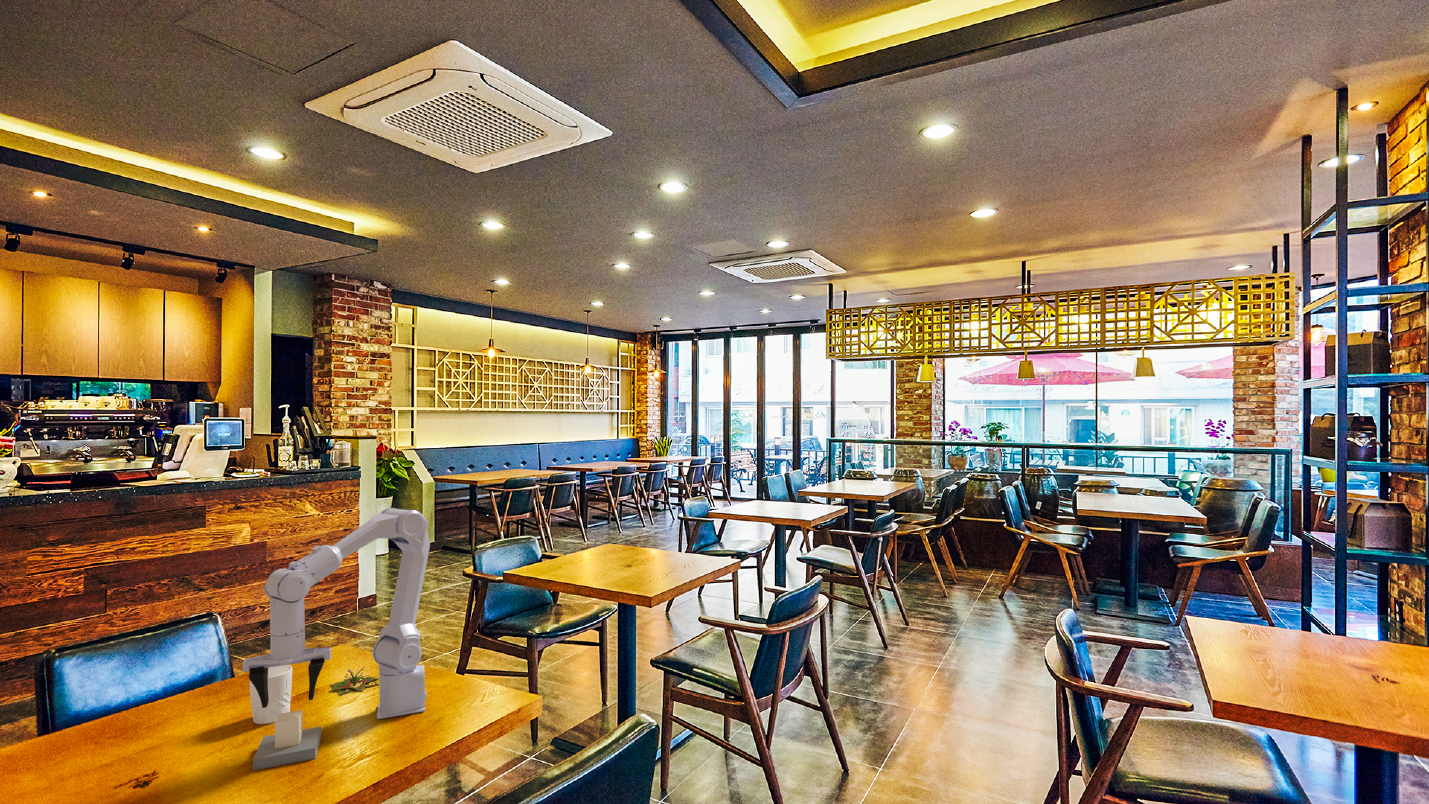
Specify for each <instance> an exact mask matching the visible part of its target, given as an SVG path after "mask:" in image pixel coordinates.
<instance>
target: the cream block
mask: <svg viewBox="0 0 1429 804" xmlns="http://www.w3.org/2000/svg"><path fill="white" fill-rule="evenodd" d="M302 730H303V710H302V709H299V710H293V711H290V712H287V713H281V714H278V716H277V718H276V721H275V722H274V735H275V748H281V747H286V746H292V745H297V744H300V741H301V738H302Z"/></svg>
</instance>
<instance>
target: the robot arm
mask: <svg viewBox="0 0 1429 804" xmlns="http://www.w3.org/2000/svg"><path fill="white" fill-rule="evenodd" d="M428 524H429V521H428V519H427V518H425V516H424V515H423V514H422V513H421V512H420V511H418V510H416V509H400V508H397V507H396V508H395V507H388V508H385V509H383V510H382V511H380V512H378V513H376V514H373V516H371V517H370V519H369V520H368V521H366V522H364V523H363V524H362V525H360V526H359V527H357V528H356V529H354V530H353V531H352V532H350V533H349V534H347V535H346V536H345V537H343V538H342V539H340V540H339V541H338V542H336V543H335V544H333V545H330V544H329V545H327V544H324V545H323V544H322V545H321V546H320V545H315V546H314V547H313V548H311V552H310V553H308V554H307V555H305V556H303V557H302V558H300V559H298V560H296V561H292V562H290V563H289V564H288V567H287V568H285V567H284V568H279V569H277V570H275V571H273V572H272V573H271V574H270V575H269V577H268V578H267V579H266V583H265V584H264V585H263V591H264V593H265V595H266V596H267V597H268V598H269V626H270V627H269V628H270V629H269V633H270V637H269V639H270V641H269V642H270V644H269V645H270V653H267V654H264V655H259V656H253V657H249V658H244V660H242V673H246V672H248V679H250V680H249V682H250V681H251V682H252V683H253V685H254V687H255V688H256V690H257V692H258V694H259V697H260V700H261V704H262V708H265V707H267V705H268V701H269V696H268V667H275V666H282V665H289V666H290V665H295V664H301V663H308V667H307V669H308V670H307V671H308V701H313V700H314V697H315V692H316V690H315V689H316V685H317V681H318V678H319V676H320V673H321V672H322V669H323V666H324V664H325V661H329V660H331V659H332V647H331V646H330V647H316V648H315V647H314V648H306V630H305V629H306V624H305V623H306V622H305V620H306V618H305V616H306V615H305V613H306V612H305V610H306V609H305V606H306V605H305V597H307V595H308V594H309V592H310V589H311V588H312V587H313V586H314V585H316V584H318V583H319V582H320V581H323V579H325V578H326V577H328V576H329V575H331V574H332V573H335V572H336V571H337V570H338V569H340V568H341V566H342V562H343V559H345V558H347V557H348V556H350V555H352V554H353V553H355V552H357V551H358V550H360V549H362V548H364V547H365V546H368V545H369V544H371V543H373V542H374V541H377V540H378V539H379V540H380V539H389V540H390V541H393V542H394V543H395V544H396V546H397V547H398V548H399V549H400V550H401V552H402V554H401V558H400V563H399V568H398V569H399V570H398V574H397V579H396V584H395V589H394V594H393V599H392V604H391V609H390V615H389V620H388V623H387V624H386V625H385V626H384V627H383V628H382V629H381V630H380V634H379V637H378V639H377V641H376V642H375V643H374V646H373V649H372V659H373V661H375V663H377V664H378V669H379V670H378V677H379V679H378V680H379V681H378V684H379V685H378V686H379V692H378V693H379V696H378V697H379V703H378V704H377V712H376V720H381V719H382V720H383V719H386V718H387V719H388V718H393V717H394V718H395V717H398V716H404V715H411V714H416V713H421V712H425V711H426V700H427V689H426V685H425V681H426V680H425V677H426V676H425V675H426V674H425V672H426V671H425V665H424V664H423V665H422V664H420V665H419V663H420V661H421V657H422V647H421V639H422V635H421V633H420V631H419V629H418V628H417V625H416V622H417V618H418V617H417V616H418V611H419V606H420V600H421V596H422V591H423V590H422V589H423V585H424V579H425V575H426V569H427V563H428V559H429V554H430V547H431V542H430V538H429V534H428V526H429V525H428Z"/></svg>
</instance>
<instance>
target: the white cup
mask: <svg viewBox="0 0 1429 804" xmlns="http://www.w3.org/2000/svg"><path fill="white" fill-rule="evenodd" d="M248 679H249V678H248ZM292 681H293V666H291V665H290V664H289V665H282V666H275V667H268V696H269V701H268V705H267V707H265V708H262V704H261V700H260V697H259V694H258V692H257V690H256V688H255V687H254V685H253V683H252V682H251V681H250V679H249V696H250V697H249V698H250V704H251V705H250V706H251V707H250V708H251V711H252V712H251V713H252V721H253V723H254V724H257V725H267V724H273V723H274V724H275V721H276V718H277V716H278V714H281V713H287V712H291V701H292V685H293V682H292Z"/></svg>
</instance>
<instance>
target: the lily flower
mask: <svg viewBox="0 0 1429 804" xmlns="http://www.w3.org/2000/svg"><path fill="white" fill-rule="evenodd" d="M359 668H360V665H358V668H357V670H356V672H354V669H353V671H352V670H351V669H350V668H347V669H348V670H347V671H346V672H348V673H349V674H350V675H348V673H345V675H344V678H345V679H343V681H337V682H334V683H331V684H329V686H332V688H331V689H330V690H329V691H327V692H332V691H335V690H338V694H339V696H341V695H344V694H346V693H349V692H352V691H355V690H358V691H360V692H364V690H365V688H367V687H369V685H367V684H366V683H368V682H374V683H375V684H379V682H377V681H373V679H374V680H379V678H378V677H373V676H370V675H369V674H368V675H364V676H363V674H364V672H361V671H364V668H365V666H363V667H362V668H361V670H359ZM358 670H359V671H358ZM360 672H361V673H360ZM350 676H351V677H350ZM365 676H369V677H366V678H364V677H365ZM360 679H362V680H360ZM361 682H362V684H361ZM357 684H359V685H360V686H359V685H358V686H356V685H357ZM372 684H373V683H372ZM351 685H352V686H351ZM350 686H351V687H350ZM373 686H375V685H373ZM349 688H350V689H349ZM347 689H349V690H347Z"/></svg>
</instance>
